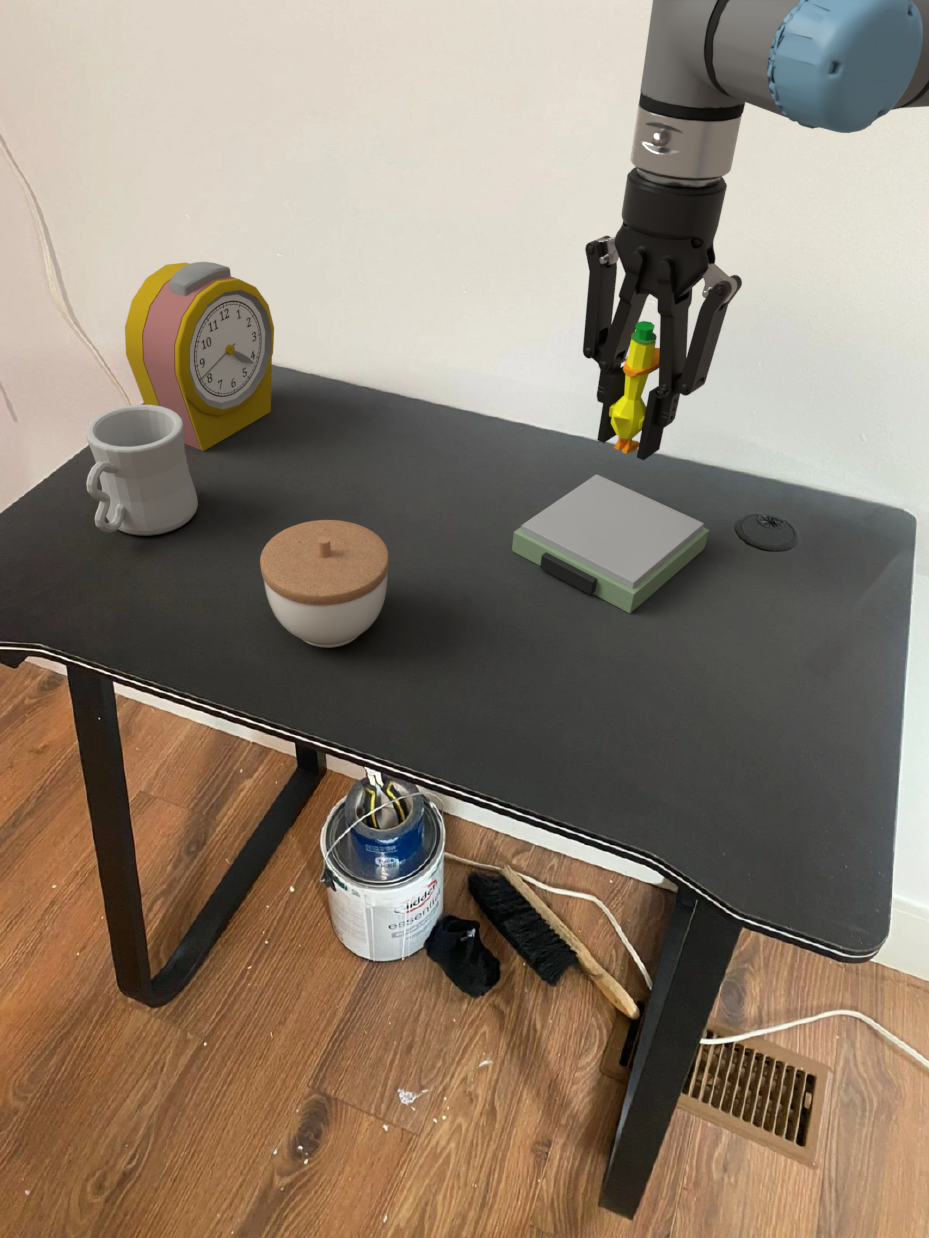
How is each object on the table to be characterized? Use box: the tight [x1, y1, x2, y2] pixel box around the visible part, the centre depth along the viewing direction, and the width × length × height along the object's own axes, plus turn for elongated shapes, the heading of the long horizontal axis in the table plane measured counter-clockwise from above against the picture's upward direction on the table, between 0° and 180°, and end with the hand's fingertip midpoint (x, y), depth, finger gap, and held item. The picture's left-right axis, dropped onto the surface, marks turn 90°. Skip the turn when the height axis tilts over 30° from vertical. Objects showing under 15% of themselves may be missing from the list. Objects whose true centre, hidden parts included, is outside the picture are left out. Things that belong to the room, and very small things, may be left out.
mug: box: [85, 404, 199, 537], centre depth 89 cm, size 12×9×10 cm
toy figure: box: [609, 320, 660, 455], centre depth 81 cm, size 7×4×12 cm, turn 137°
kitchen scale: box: [511, 474, 710, 614], centre depth 91 cm, size 14×15×3 cm
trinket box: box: [259, 519, 390, 648], centre depth 79 cm, size 11×11×9 cm
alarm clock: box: [124, 261, 275, 452], centre depth 102 cm, size 15×8×18 cm, turn 148°
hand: (628, 444), depth 85 cm, fingers closed on toy figure, 4 cm apart
